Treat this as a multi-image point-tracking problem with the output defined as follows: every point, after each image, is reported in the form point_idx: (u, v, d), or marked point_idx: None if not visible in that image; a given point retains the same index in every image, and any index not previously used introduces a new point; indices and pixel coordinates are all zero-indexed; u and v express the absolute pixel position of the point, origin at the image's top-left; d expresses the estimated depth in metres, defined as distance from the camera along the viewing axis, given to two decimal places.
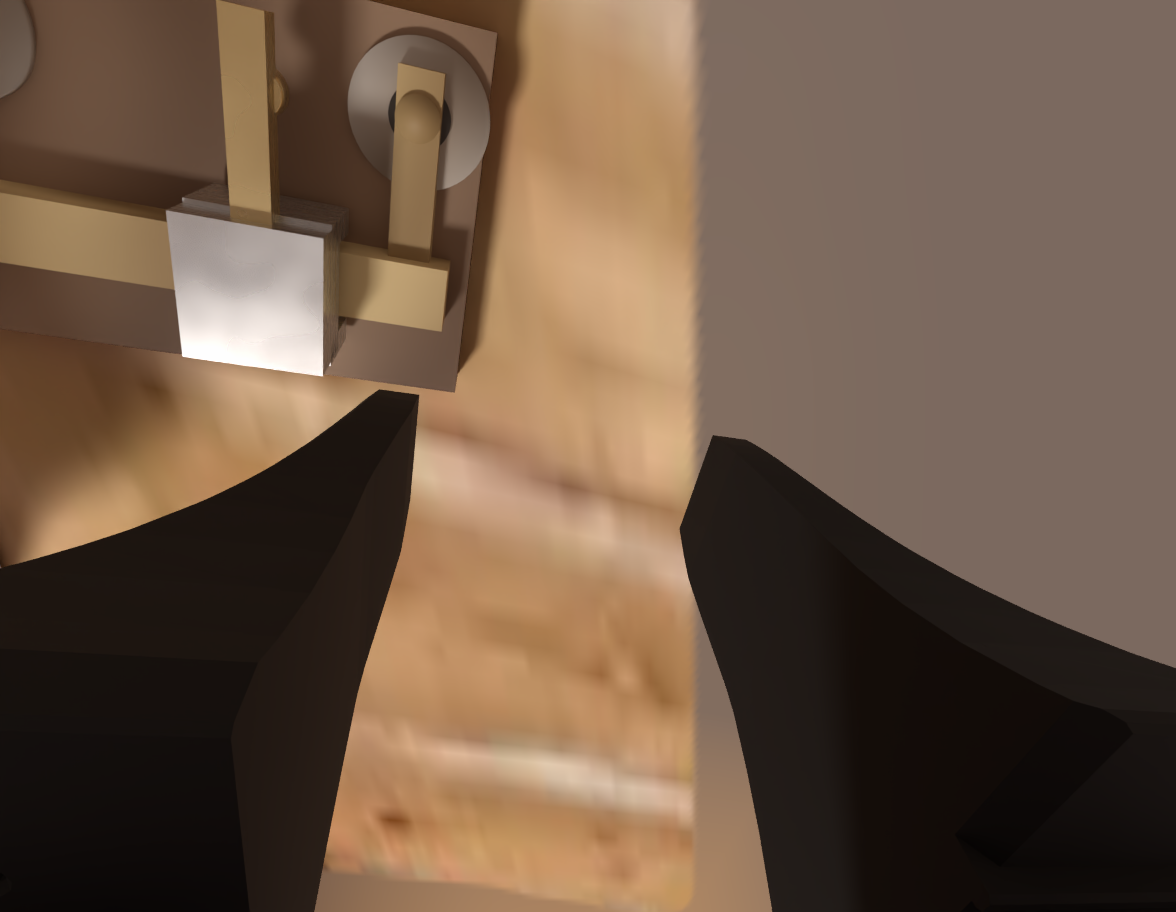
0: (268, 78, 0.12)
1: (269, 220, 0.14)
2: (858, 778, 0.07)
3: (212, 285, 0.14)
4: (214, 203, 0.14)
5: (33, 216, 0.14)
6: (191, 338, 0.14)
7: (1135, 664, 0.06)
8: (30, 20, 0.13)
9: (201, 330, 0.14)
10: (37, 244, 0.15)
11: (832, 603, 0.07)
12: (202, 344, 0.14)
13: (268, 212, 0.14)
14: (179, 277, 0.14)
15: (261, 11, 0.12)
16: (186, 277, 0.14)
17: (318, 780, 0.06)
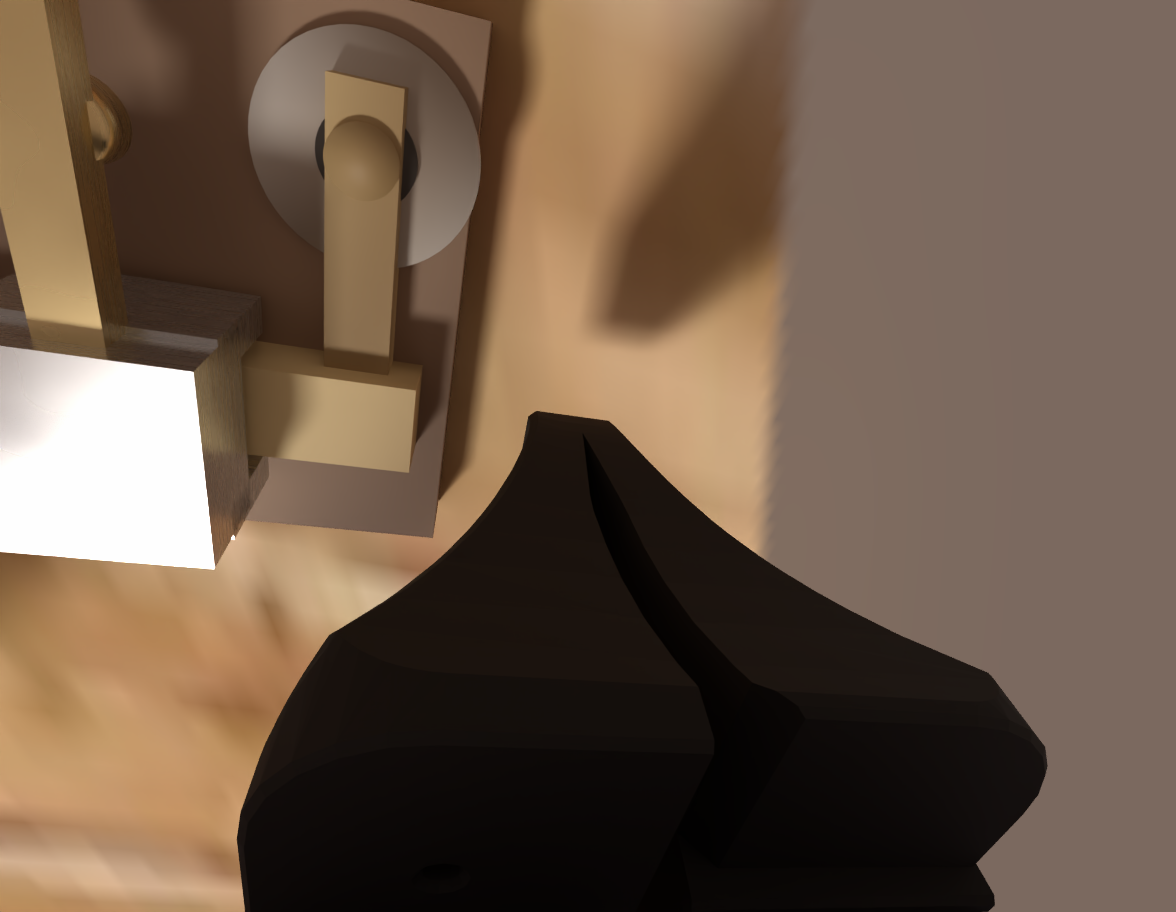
0: (68, 102, 0.07)
1: (100, 341, 0.08)
2: None
3: (9, 447, 0.08)
4: (11, 309, 0.08)
5: None
6: None
7: (890, 646, 0.05)
8: None
9: (3, 512, 0.09)
10: None
11: (628, 586, 0.07)
12: (8, 531, 0.09)
13: (97, 328, 0.08)
14: None
15: None
16: None
17: None
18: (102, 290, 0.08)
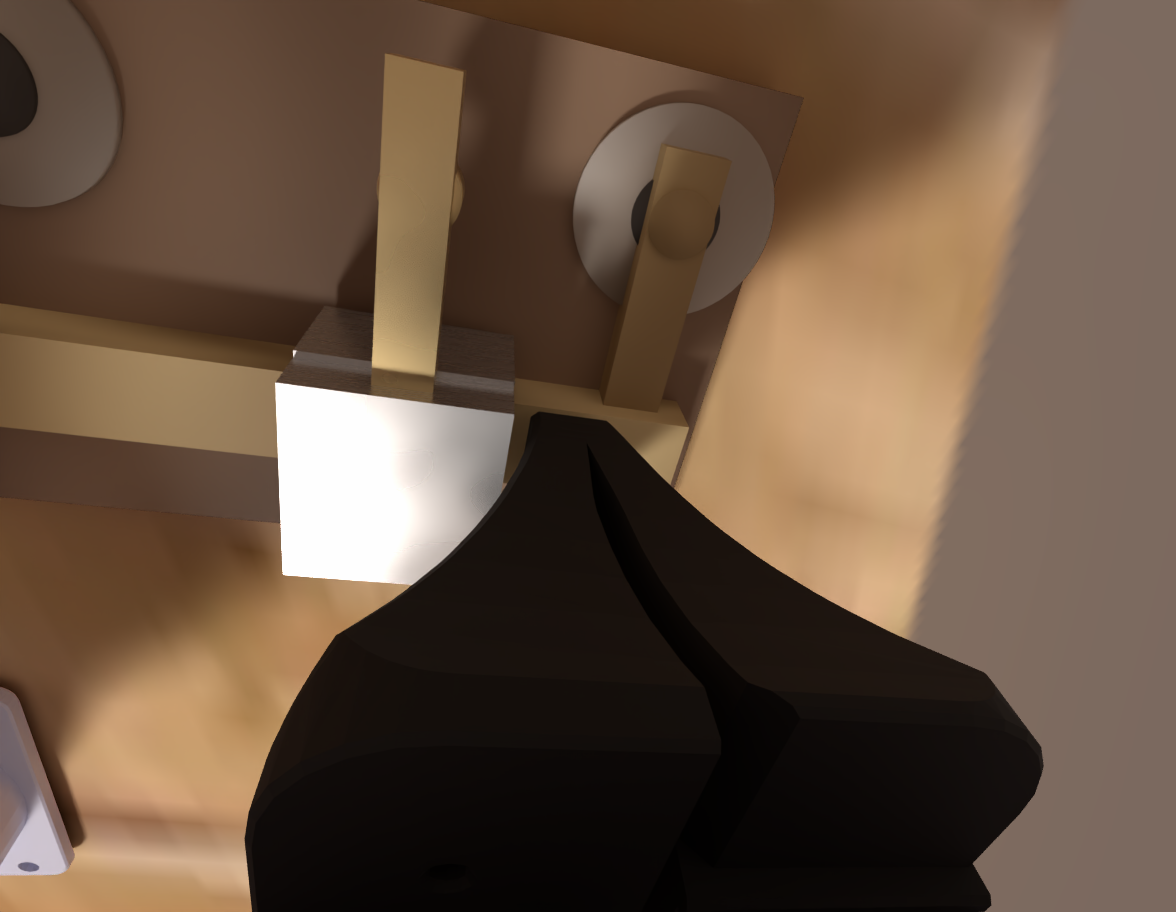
0: (453, 179, 0.07)
1: (430, 386, 0.09)
2: None
3: (336, 482, 0.09)
4: (341, 357, 0.09)
5: (112, 372, 0.10)
6: (298, 551, 0.10)
7: (886, 646, 0.05)
8: (116, 88, 0.09)
9: (314, 540, 0.09)
10: (115, 409, 0.10)
11: None
12: (314, 558, 0.10)
13: (429, 375, 0.09)
14: (288, 473, 0.09)
15: (459, 72, 0.07)
16: (298, 472, 0.09)
17: None
18: None
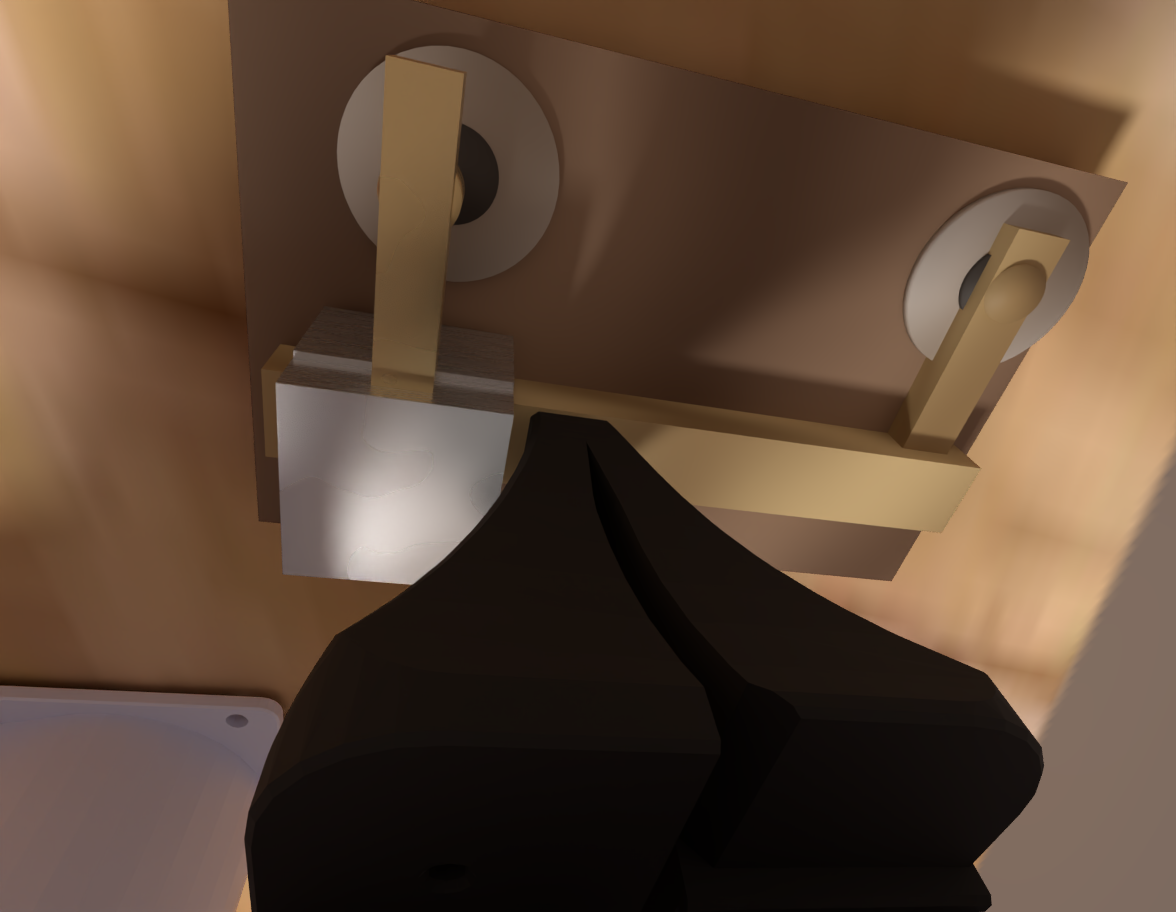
0: (454, 180, 0.07)
1: (429, 387, 0.09)
2: None
3: (336, 482, 0.09)
4: (341, 357, 0.09)
5: None
6: (298, 551, 0.10)
7: (887, 646, 0.05)
8: (560, 182, 0.10)
9: (314, 540, 0.09)
10: None
11: None
12: (313, 557, 0.10)
13: (429, 375, 0.09)
14: (288, 472, 0.09)
15: (459, 74, 0.07)
16: (297, 472, 0.09)
17: None
18: None
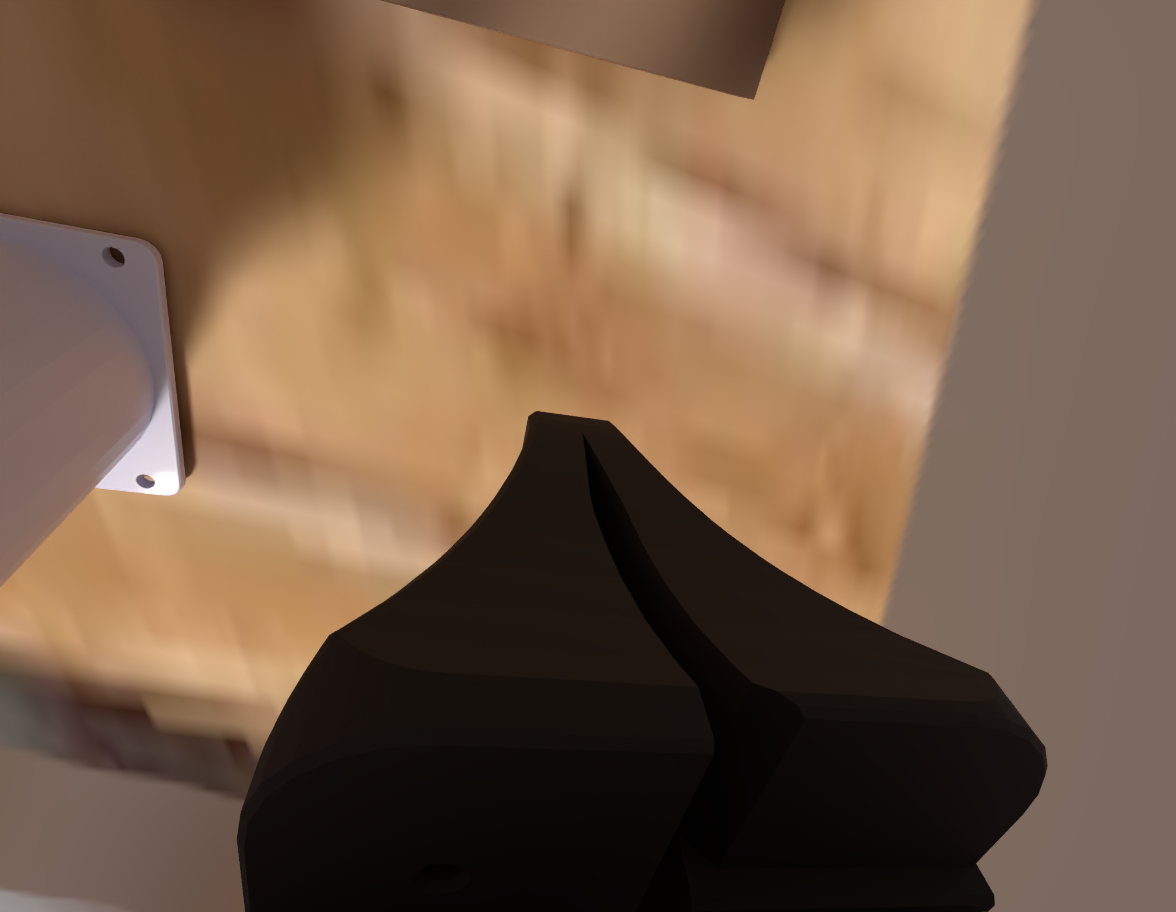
0: None
1: None
2: None
3: None
4: None
5: None
6: None
7: (890, 647, 0.05)
8: None
9: None
10: None
11: (628, 586, 0.07)
12: None
13: None
14: None
15: None
16: None
17: None
18: None
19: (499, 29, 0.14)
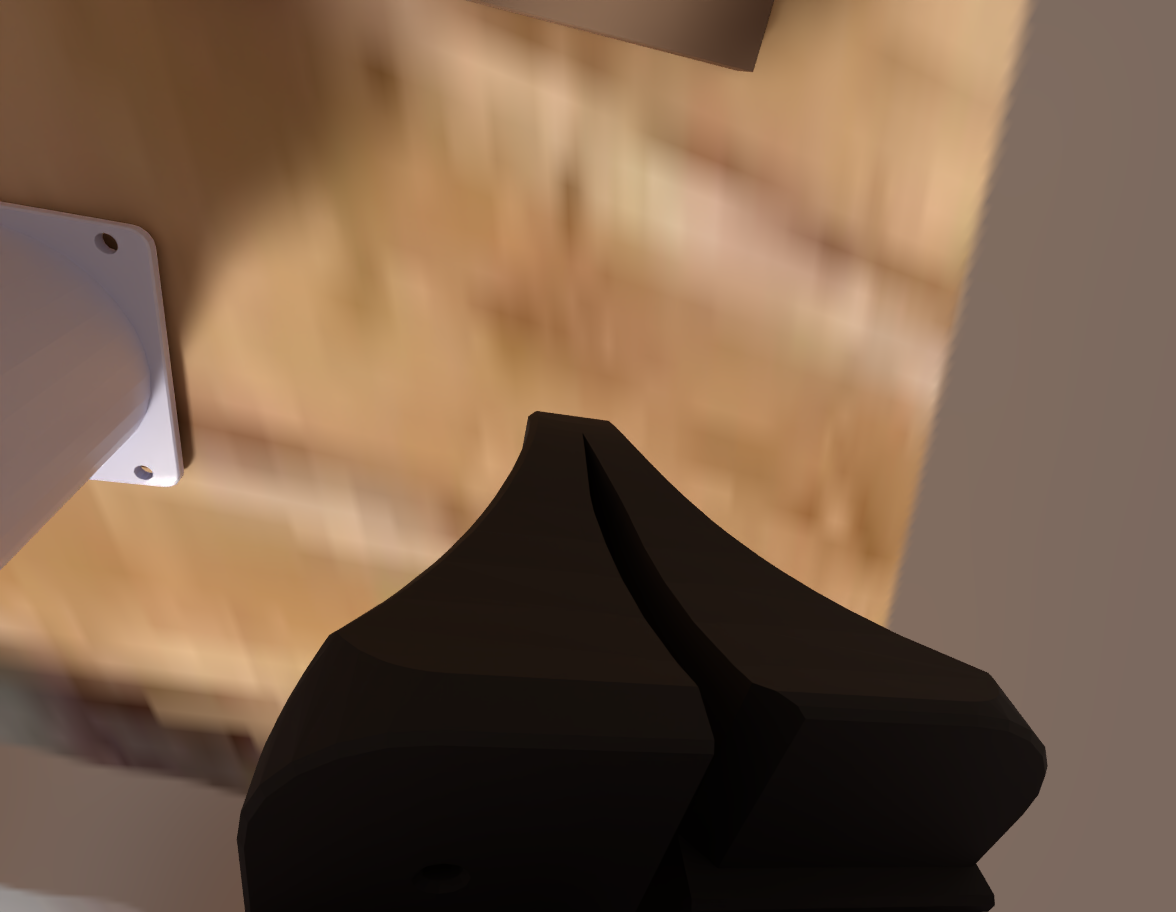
0: None
1: None
2: None
3: None
4: None
5: None
6: None
7: (890, 646, 0.05)
8: None
9: None
10: None
11: (628, 586, 0.07)
12: None
13: None
14: None
15: None
16: None
17: None
18: None
19: (492, 2, 0.14)
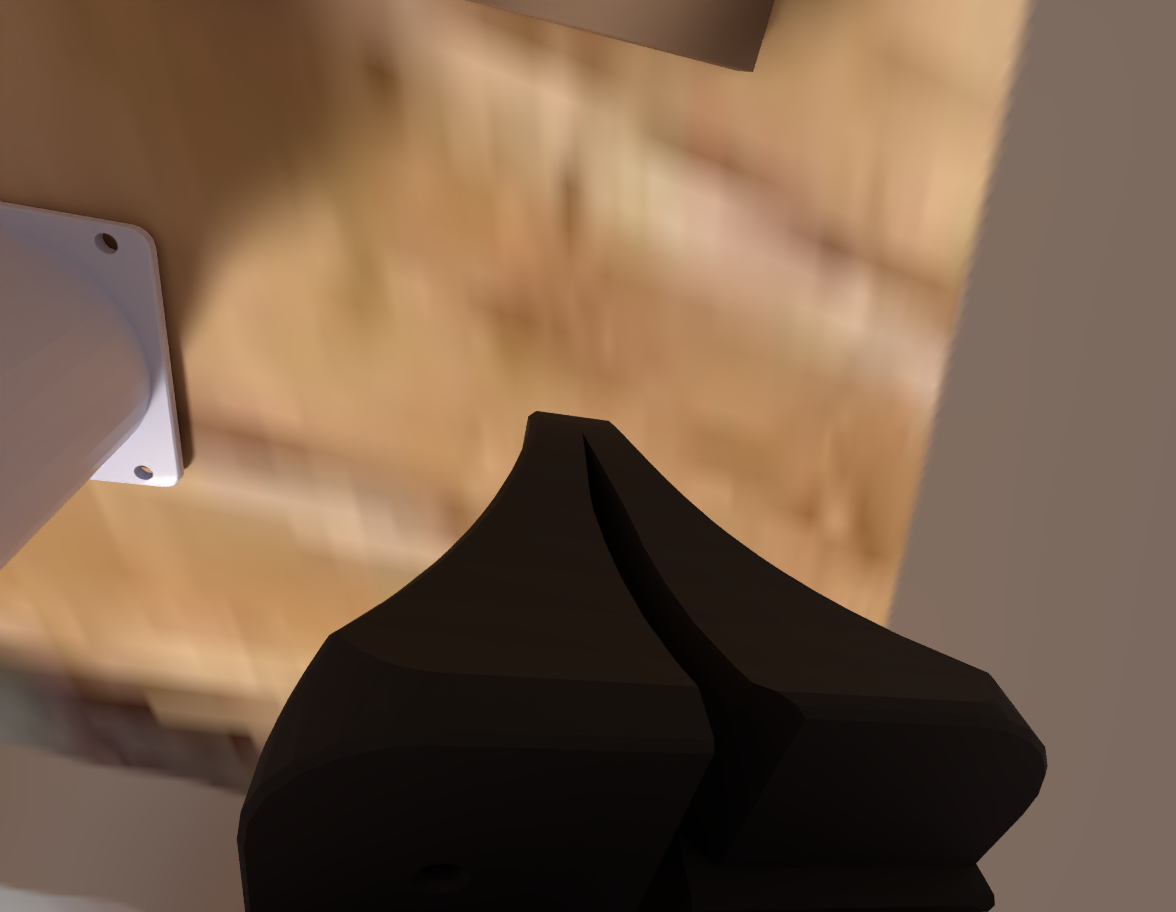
0: None
1: None
2: None
3: None
4: None
5: None
6: None
7: (890, 646, 0.05)
8: None
9: None
10: None
11: (628, 586, 0.07)
12: None
13: None
14: None
15: None
16: None
17: None
18: None
19: (492, 2, 0.14)
